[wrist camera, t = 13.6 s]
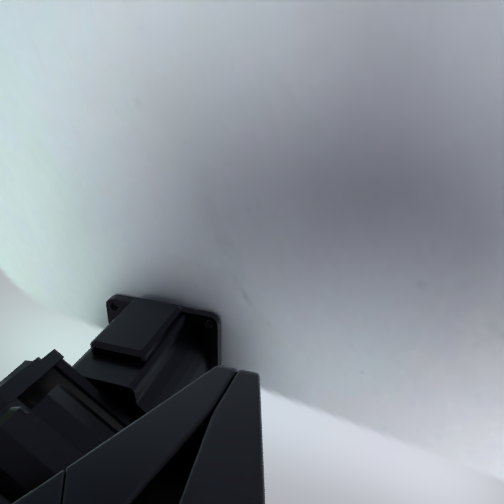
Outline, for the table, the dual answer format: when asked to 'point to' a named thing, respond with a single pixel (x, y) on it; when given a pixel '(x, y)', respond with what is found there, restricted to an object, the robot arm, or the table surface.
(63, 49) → the table surface
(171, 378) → the robot arm
